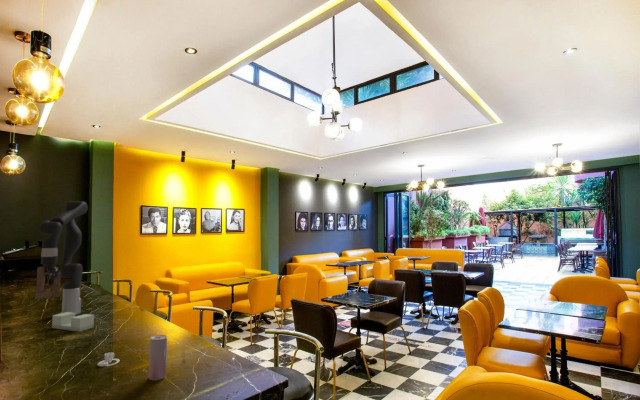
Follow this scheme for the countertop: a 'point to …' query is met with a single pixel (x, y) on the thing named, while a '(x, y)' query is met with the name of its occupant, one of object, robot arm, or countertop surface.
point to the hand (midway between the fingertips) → (48, 284)
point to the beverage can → (157, 357)
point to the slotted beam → (73, 321)
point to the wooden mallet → (41, 284)
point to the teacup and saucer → (108, 359)
